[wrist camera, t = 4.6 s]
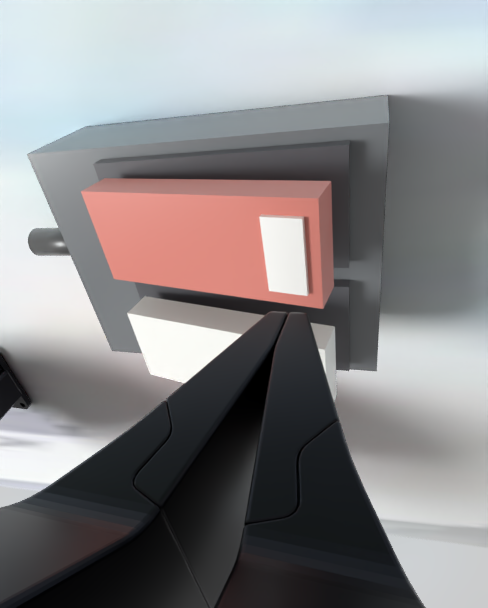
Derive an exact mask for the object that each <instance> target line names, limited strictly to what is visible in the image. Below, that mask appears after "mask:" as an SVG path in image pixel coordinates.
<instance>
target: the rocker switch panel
mask: <svg viewBox="0 0 488 608" xmlns="http://www.w3.org/2000/svg"><path fill="white" fill-rule="evenodd" d="M388 138H389V109H388V95H383V96H374V97H364V98H355V99H345V100H336V101H326V102H317V103H307V104H298V105H288V106H279V107H269V108H260V109H250V110H241V111H231V112H222V113H212V114H203V115H193V116H184V117H174V118H165V119H155V120H146V121H136V122H127V123H117V124H108V125H98V126H89V127H84V128H81V129H79V130H77V131H75V132H73V133H71V134H69V135H67V136H64V137H62V138H60V139H58V140H56V141H54V142H52V143H50V144H48V145H45V146H43V147H41V148H39V149H37V150H35V151H33V152H31V153H28V154H27V156H28V158H29V160H30V162H31V165H32V167H33V169H34V172H35V174H36V176H37V179H38V181H39V183H40V186H41V188H42V190H43V192H44V195H45V197H46V199H47V202H48V204H49V206H50V209H51V211H52V213H53V216H54V218H55V220H56V222H57V225H58V227H59V228H36V229H33V230H32V231H31V232H30V234H29V237H28V244H29V247H30V249H31V251H32V252H33V253H34V254H35V255H39V256H71V257H72V259H73V262H74V264H75V266H76V269H77V271H78V273H79V276H80V278H81V280H82V282H83V285H84V287H85V289H86V292H87V294H88V296H89V299H90V301H91V303H92V306H93V308H94V310H95V312H96V315H97V317H98V319H99V322H100V324H101V326H102V329H103V331H104V333H105V336H106V338H107V340H108V342H109V345H110V347H111V349H112V351H120V352H133V353H142V351H141V349H140V346H139V343H138V341H137V338H136V335H135V333H134V330H133V328H132V325H131V322H130V320H129V317H128V314H127V313H128V312H129V311H130V310H131V309H132V308H133V307H134V306H135V305H136V304H137V303H138V302H139V301H140V300H141V299H142V298H143V297H144V296H147V297H153V298H159V299H165V300H172V301H178V302H184V303H190V304H197V305H203V306H209V307H215V308H222V309H228V310H234V311H241V312H247V313H253V314H259V315H266V314H267V313H269V312H271V311H276V312H287V313H288V314H289V313H291V312H297V313H307V314H308V316H309V320H310V323H316V324H322V325H328V326H335V349H336V370H346V371H349V369H354V370H367V371H377V351H378V332H379V313H380V293H381V274H382V254H383V235H384V215H385V196H386V177H387V157H388ZM104 178H123V179H210V180H296V181H331V190H332V230H333V270H334V288H333V290H332V292H331V294H330V296H329V298H328V300H327V302H326V304H325V306H324V308H323V309H320V308H313V307H306V306H299V305H292V304H285V303H278V302H271V301H264V300H257V299H250V298H243V297H236V296H229V295H222V294H215V293H208V292H201V291H194V290H187V289H180V288H173V287H166V286H159V285H152V284H145V283H139V282H132V281H125V280H118V279H114V278H113V275H112V272H111V270H110V267H109V264H108V262H107V259H106V257H105V254H104V251H103V249H102V246H101V243H100V241H99V238H98V235H97V233H96V230H95V228H94V225H93V222H92V220H91V217H90V214H89V212H88V209H87V207H86V204H85V201H84V199H83V196H82V193H81V191H82V190H84V189H86V188H88V187H90V186H91V185H93V184H95V183H97V182H99V181H101V180H102V179H104Z"/></svg>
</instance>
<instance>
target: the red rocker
mask: <svg viewBox="0 0 488 608" xmlns="http://www.w3.org/2000/svg"><path fill="white" fill-rule="evenodd" d="M81 193H82V196H83V199H84V201H85V204H86V207H87V209H88V212H89V214H90V217H91V220H92V222H93V225H94V228H95V230H96V233H97V235H98V238H99V241H100V243H101V246H102V249H103V251H104V254H105V257H106V259H107V262H108V264H109V267H110V270H111V272H112V275H113V278H114V279H118V280H125V281H132V282H139V283H145V284H152V285H159V286H166V287H173V288H180V289H187V290H194V291H201V292H208V293H215V294H222V295H229V296H236V297H243V298H250V299H257V300H264V301H271V302H278V303H285V304H292V305H299V306H306V307H313V308H320V309H323V308H324V306H325V304H326V302H327V300H328V298H329V296H330V294H331V292H332V290H333V288H334V270H333V230H332V190H331V181H296V180H210V179H123V178H104V179H102V180H101V181H99V182H97V183H95V184H93V185H91V186H90V187H88V188H86V189H84V190H82V191H81Z"/></svg>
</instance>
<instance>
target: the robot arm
mask: <svg viewBox="0 0 488 608" xmlns="http://www.w3.org/2000/svg"><path fill="white" fill-rule="evenodd" d="M30 405H31V401H30V400H29V398H28V397H27V395H26V394H25V392H24V390H23V389H22V387H21V386H20V384H19V383H18V381H17V380H16V378H15V376H14V375H13V373H12V372H11V370H10V369H9V367H8V366H7V364H6V362H5V361H4V359H3V358H2V356H1V355H0V420H1V419H2V418H3V416H4V415H5V414H6V413H7V412H8V411H9V410H10V408H11V407H14V408H22V409H28V408H29V406H30ZM0 608H426V607H425V606H424V605H423V603H422V602H421V600H420V598H419V597H418V595H417V593H416V592H415V590H414V588H413V587H412V585H411V583H410V581H409V580H408V578H407V576H406V574H405V572H404V570H403V568H402V567H401V564H400V562H399V561H398V558H397V556H396V554H395V552H394V550H393V548H392V546H391V544H390V542H389V540H388V537H387V535H386V533H385V531H384V529H383V527H382V525H381V523H380V520H379V518H378V516H377V514H376V512H375V510H374V508H373V506H372V504H371V501H370V499H369V497H368V495H367V493H366V491H365V489H364V486H363V484H362V482H361V479H360V477H359V475H358V472H357V470H356V468H355V465H354V463H353V460H352V457H351V455H350V452H349V449H348V446H347V443H346V440H345V437H344V433H343V430H342V427H341V423H340V422H339V417H338V414H337V410H336V407H335V404H334V400H333V397H332V394H331V390H330V387H329V383H328V380H327V377H326V373H325V370H324V367H323V363H322V360H321V357H320V353H319V350H318V346H317V343H316V340H315V336H314V333H313V330H312V326H311V323H310V320H309V316H308V314H307V313H297V312H291V313H289V314H288V313H287V312H276V311H271V312H269V313H267V314H266V315H265V316H264V317H263V318H261V319H260V320H259V321H258V322H257V323H256V324H254V325H253V326H252V327H251V328H250V329H248V330H247V331H246V332H245V333H244V334H242V335H241V336H240V337H239V338H238V339H237V340H235V341H234V342H233V343H232V344H231V345H229V346H228V347H227V348H226V349H225V350H224V351H222V352H221V353H220V354H219V355H218V356H216V357H215V358H214V359H213V360H212V361H210V362H209V363H208V364H207V365H206V366H205V367H203V368H202V369H201V370H200V371H199V372H197V373H196V374H195V375H194V376H193V377H192V378H190V379H189V380H188V381H187V382H186V383H184V384H183V385H182V386H181V387H180V388H179V389H177V390H176V391H175V392H174V393H173V394H171V395H170V396H169V397H168V398H167V402H166V401H163V402H162V403H161V404H159V405H158V406H157V407H156V408H155V409H153V410H152V411H151V412H150V413H149V414H147V415H146V416H145V417H144V418H142V419H141V420H140V421H139V422H137V423H136V424H135V425H134V426H132V427H131V428H130V429H128V430H127V431H126V432H124V433H123V434H122V435H120V436H119V437H118V438H116V439H115V440H113V441H112V442H111V443H109V444H108V445H107V446H105V447H104V448H102V449H101V450H100V451H98V452H97V453H95V454H94V455H92V456H91V457H90V458H88V459H87V460H85V461H84V462H82V463H81V464H80V465H78V466H77V467H75V468H74V469H72V470H71V471H70V472H68V473H67V474H65V475H64V476H63V477H61V478H60V479H58V480H57V481H55V482H54V483H53V484H51V485H50V486H48V487H46V488H45V489H43V490H42V491H40V492H38V493H37V494H35V495H33V496H31V497H29V498H27V499H25V500H22V501H20V502H18V503H15V504H12V505H9V506H5V507H1V508H0Z"/></svg>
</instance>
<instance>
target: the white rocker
mask: <svg viewBox="0 0 488 608" xmlns="http://www.w3.org/2000/svg"><path fill="white" fill-rule="evenodd" d="M127 314H128V317H129V320H130V322H131V325H132V328H133V330H134V333H135V335H136V338H137V341H138V343H139V346H140V349H141V351H142V354H143V357H144V359H145V362H146V364H147V367H148V370H149V372H150V375H154V376H158V377H162V378H166V379H170V380H174V381H178V382H182V383H186V382H187V381H188V380H189V379H190V378H192V377H193V376H194V375H195V374H196V373H197V372H199V371H200V370H201V369H202V368H203V367H205V366H206V365H207V364H208V363H209V362H210V361H212V360H213V359H214V358H215V357H216V356H218V355H219V354H220V353H221V352H222V351H224V350H225V349H226V348H227V347H228V346H229V345H231V344H232V343H233V342H234V341H235V340H237V339H238V338H239V337H240V336H241V335H242V334H244V333H245V332H246V331H247V330H248V329H250V328H251V327H252V326H253V325H254V324H256V323H257V322H258V321H259V320H260V319H261V318H263V317H264V316H265V315H259V314H253V313H247V312H241V311H234V310H228V309H222V308H215V307H209V306H203V305H197V304H190V303H184V302H178V301H172V300H165V299H159V298H153V297H147V296H144V297H143V298H142V299H141V300H140V301H139V302H138V303H137V304H136V305H135V306H134V307H133V308H132V309H131V310H130V311H129V312H128V313H127ZM311 326H312V330H313V333H314V336H315V340H316V343H317V346H318V350H319V353H320V357H321V360H322V363H323V367H324V370H325V373H326V377H327V380H328V383H329V387H330V390H331V394H332V397H333V400H334V402H335V399H336V396H337V388H336V349H335V326H328V325H322V324H316V323H311Z"/></svg>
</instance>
